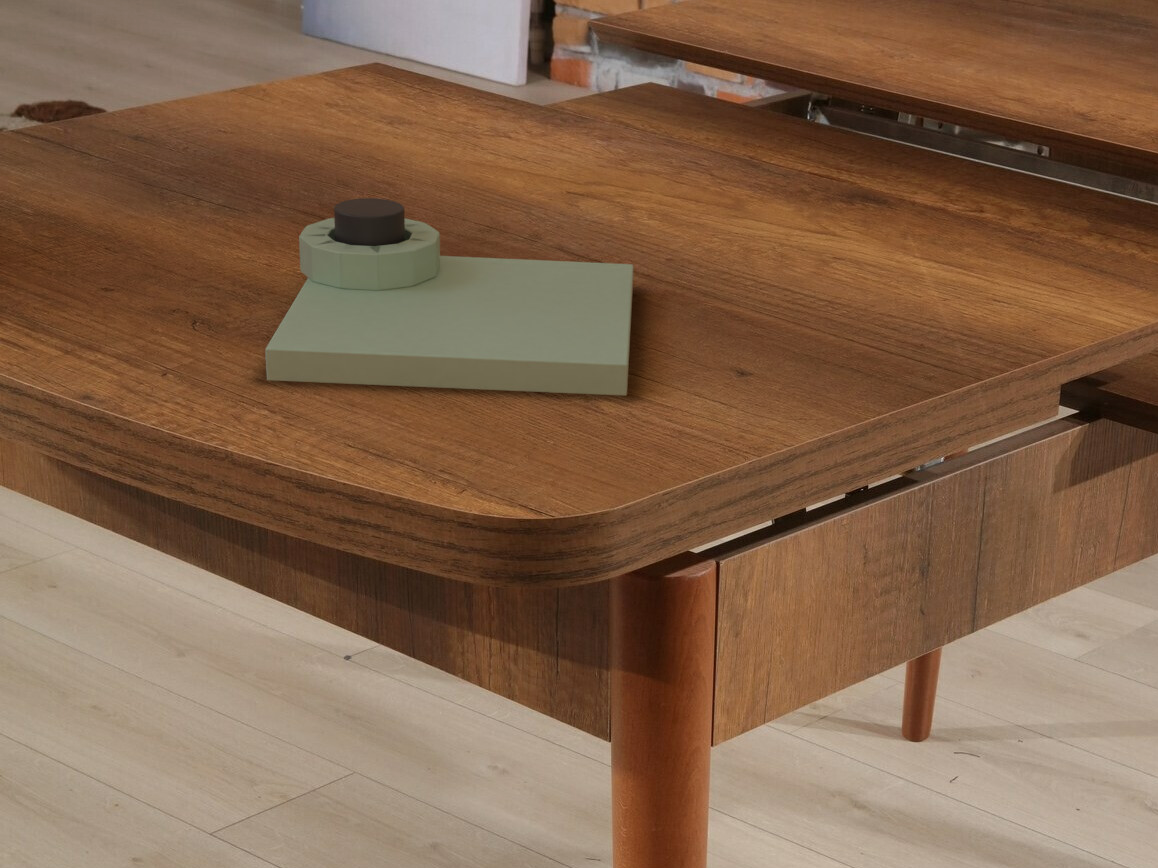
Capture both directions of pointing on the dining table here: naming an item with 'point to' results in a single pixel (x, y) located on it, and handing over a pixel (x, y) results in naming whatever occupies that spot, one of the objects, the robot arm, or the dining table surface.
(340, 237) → the button
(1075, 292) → the dining table surface
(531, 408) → the dining table surface
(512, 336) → the scale
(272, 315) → the dining table surface
